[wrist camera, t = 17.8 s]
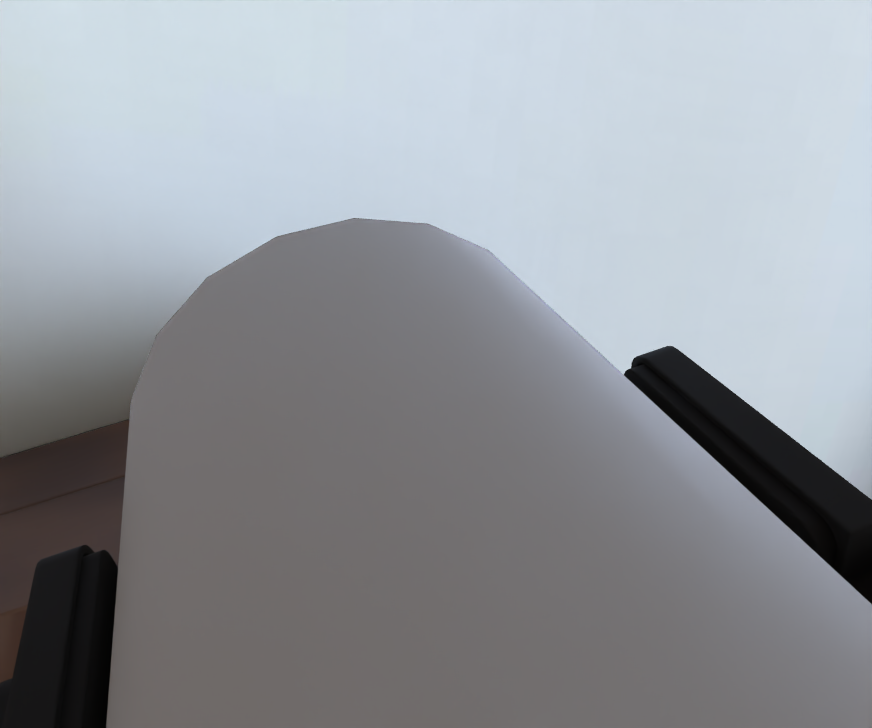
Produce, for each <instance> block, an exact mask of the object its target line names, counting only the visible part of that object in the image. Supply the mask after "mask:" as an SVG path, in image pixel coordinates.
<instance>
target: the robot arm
mask: <svg viewBox="0 0 872 728" xmlns="http://www.w3.org/2000/svg"><path fill="white" fill-rule="evenodd" d="M624 376H625V377H626V378H627V379H628V380H630V381H631V382H632V383H633V384H634V385H635V386H636V387H637V388H638V389H639V390H640V391H641V392H643V393H644V394H645V395H646V396H647V397H648V398H649V399H650V400H651V401H652V402H653V403H654V404H656V405H657V406H658V407H659V408H660V409H661V410H662V411H663V412H664V413H665V414H666V415H667V416H668V417H670V418H671V419H672V420H673V421H674V422H675V423H676V424H677V425H678V426H679V427H680V428H681V429H683V430H684V431H685V432H686V433H687V434H688V435H689V436H690V437H691V438H692V439H693V440H694V441H696V442H697V443H698V444H699V445H700V446H701V447H702V448H703V449H704V450H705V451H706V452H707V453H709V454H710V455H711V456H712V457H713V458H714V459H715V460H716V461H717V462H718V463H719V464H720V465H722V466H723V467H724V468H725V469H726V470H727V471H728V472H729V473H730V474H731V475H732V476H733V477H735V478H736V479H737V480H738V481H739V482H740V483H741V484H742V485H743V486H744V487H745V488H746V489H747V490H749V491H750V492H751V493H752V494H753V495H754V496H755V497H756V498H757V499H758V500H759V501H760V502H762V503H763V504H764V505H765V506H766V507H767V508H768V509H769V510H770V511H771V512H772V513H773V514H775V515H776V516H777V517H778V518H779V519H780V520H781V521H782V522H783V523H784V524H785V525H786V526H788V527H789V528H790V529H791V530H792V531H793V532H794V533H795V534H796V535H797V536H798V537H799V538H801V539H802V540H803V541H804V542H805V543H806V544H807V545H808V546H809V547H810V548H811V549H812V550H814V551H815V552H816V553H817V554H818V555H819V556H820V557H821V558H822V559H823V560H824V561H825V562H826V563H828V564H829V565H830V566H831V567H832V568H833V569H834V570H835V571H836V572H837V573H838V574H839V575H841V576H842V577H843V578H844V579H845V580H846V581H847V582H848V583H849V584H850V585H851V586H852V587H854V588H855V589H856V590H857V591H858V592H859V593H860V594H861V595H862V596H863V597H864V598H865V599H867V600H868V601H869V602H870V603H871V604H872V500H871V499H870V498H868V497H867V496H866V495H865V494H863V493H862V492H861V491H859V490H858V489H857V488H856V487H854V486H853V485H852V484H850V483H849V482H848V481H847V480H845V479H844V478H843V477H841V476H840V475H839V474H838V473H836V472H835V471H834V470H832V469H831V468H830V467H829V466H827V465H826V464H825V463H823V462H822V461H821V460H820V459H818V458H817V457H816V456H814V455H813V454H812V453H811V452H809V451H808V450H807V449H805V448H804V447H803V446H802V445H800V444H799V443H798V442H796V441H795V440H794V439H792V438H791V437H790V436H789V435H787V434H786V433H785V432H783V431H782V430H781V429H780V428H778V427H777V426H776V425H774V424H773V423H772V422H771V421H769V420H768V419H767V418H765V417H764V416H763V415H762V414H760V413H759V412H758V411H756V410H755V409H754V408H753V407H751V406H750V405H749V404H747V403H746V402H745V401H744V400H742V399H741V398H740V397H738V396H737V395H736V394H735V393H733V392H732V391H731V390H729V389H728V388H727V387H726V386H724V385H723V384H722V383H720V382H719V381H718V380H717V379H715V378H714V377H713V376H711V375H710V374H709V373H708V372H706V371H705V370H704V369H702V368H701V367H700V366H699V365H697V364H696V363H695V362H693V361H692V360H691V359H689V358H688V357H687V356H686V355H684V354H683V353H682V352H680V351H679V350H678V349H676V348H674V347H673V346H666V347H663V348H660V349H658V350H655V351H652V352H649V353H646V354H643V355H640V356H637V357H636V358H634V359H633V362H632V366H631V369H628V370H627V371H625V374H624ZM117 577H118V566H117V565H116V563H115V561H114V560H113V558H112V556H111V555H110V554H109V552H108V551H106V550H101V551H98V552H94V551H93V550H92V549H91V548H90V547H89V546H88V545H82V546H79V547H76V548H73V549H70V550H67V551H64V552H61V553H58V554H55V555H52V556H49V557H46V558H43V559H41V560H40V561H39V562H38V563H37V565H36V568H35V572H34V577H33V582H32V587H31V591H30V596H29V601H28V606H27V610H26V615H25V620H24V625H23V630H22V634H21V639H20V644H19V649H18V653H17V658H16V663H15V668H14V672H13V677H12V678H11V679H8V680H6V681H3V682H1V683H0V728H106V722H107V709H108V696H109V682H110V669H111V656H112V643H113V630H114V617H115V604H116V590H117Z"/></svg>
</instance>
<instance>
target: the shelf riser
mask: <svg viewBox="0 0 872 728" xmlns="http://www.w3.org/2000/svg"><path fill="white" fill-rule="evenodd" d="M129 420H130V419H129ZM129 420H126V421H122V422H119V423H116V424H112V425H109V426H106V427H102V428H99V429H96V430H92V431H89V432H86V433H83V434H79V435H76V436H73V437H69V438H66V439H63V440H59V441H56V442H53V443H50V444H46V445H43V446H40V447H36V448H33V449H30V450H26V451H23V452H20V453H16V454H13V455H10V456H7V457H3V458H0V683H1V682H3V681H6V680H8V679H11V678H12V677H13V672H14V668H15V663H16V658H17V653H18V649H19V644H20V639H21V634H22V630H23V625H24V620H25V615H26V610H27V606H28V601H29V596H30V591H31V587H32V582H33V577H34V572H35V568H36V565H37V563H38V562H39V561H40V560H41V559H43V558H46V557H49V556H52V555H55V554H58V553H61V552H64V551H67V550H70V549H73V548H76V547H79V546H82V545H88V546H89V547H90V548H91V549H92V550H93V551H94V552H98V551H101V550H106V551H108V552H109V554H110V555H111V556H112V558H113V560H114V561H115V563H116V565H117V566H118V564H119V551H120V538H121V525H122V512H123V498H124V485H125V472H126V459H127V446H128V433H129Z"/></svg>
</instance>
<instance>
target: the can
mask: <svg viewBox="0 0 872 728" xmlns="http://www.w3.org/2000/svg"><path fill="white" fill-rule="evenodd" d="M106 728H872V604H871V603H870V602H869V601H868V600H867V599H865V598H864V597H863V596H862V595H861V594H860V593H859V592H858V591H857V590H856V589H855V588H854V587H852V586H851V585H850V584H849V583H848V582H847V581H846V580H845V579H844V578H843V577H842V576H841V575H839V574H838V573H837V572H836V571H835V570H834V569H833V568H832V567H831V566H830V565H829V564H828V563H826V562H825V561H824V560H823V559H822V558H821V557H820V556H819V555H818V554H817V553H816V552H815V551H814V550H812V549H811V548H810V547H809V546H808V545H807V544H806V543H805V542H804V541H803V540H802V539H801V538H799V537H798V536H797V535H796V534H795V533H794V532H793V531H792V530H791V529H790V528H789V527H788V526H786V525H785V524H784V523H783V522H782V521H781V520H780V519H779V518H778V517H777V516H776V515H775V514H773V513H772V512H771V511H770V510H769V509H768V508H767V507H766V506H765V505H764V504H763V503H762V502H760V501H759V500H758V499H757V498H756V497H755V496H754V495H753V494H752V493H751V492H750V491H749V490H747V489H746V488H745V487H744V486H743V485H742V484H741V483H740V482H739V481H738V480H737V479H736V478H735V477H733V476H732V475H731V474H730V473H729V472H728V471H727V470H726V469H725V468H724V467H723V466H722V465H720V464H719V463H718V462H717V461H716V460H715V459H714V458H713V457H712V456H711V455H710V454H709V453H707V452H706V451H705V450H704V449H703V448H702V447H701V446H700V445H699V444H698V443H697V442H696V441H694V440H693V439H692V438H691V437H690V436H689V435H688V434H687V433H686V432H685V431H684V430H683V429H681V428H680V427H679V426H678V425H677V424H676V423H675V422H674V421H673V420H672V419H671V418H670V417H668V416H667V415H666V414H665V413H664V412H663V411H662V410H661V409H660V408H659V407H658V406H657V405H656V404H654V403H653V402H652V401H651V400H650V399H649V398H648V397H647V396H646V395H645V394H644V393H643V392H641V391H640V390H639V389H638V388H637V387H636V386H635V385H634V384H633V383H632V382H631V381H630V380H628V379H627V378H626V377H625V376H624V375H623V374H622V373H621V372H620V371H619V370H618V369H617V368H615V367H614V366H613V365H612V364H611V363H610V362H609V361H608V360H607V359H606V358H605V357H604V356H602V355H601V354H600V353H599V352H598V351H597V350H596V349H595V348H594V347H593V346H592V345H591V344H589V343H588V342H587V341H586V340H585V339H584V338H583V337H582V336H581V335H580V334H579V333H578V332H576V331H575V330H574V329H573V328H572V327H571V326H570V325H569V324H568V323H567V322H566V321H565V320H564V319H562V318H561V317H560V316H559V315H558V314H557V313H556V312H555V311H554V310H553V309H552V308H551V307H549V306H548V305H547V304H546V303H545V302H544V301H543V300H542V299H541V298H540V297H539V296H538V295H536V294H535V293H534V292H533V291H532V290H531V289H530V288H529V287H528V286H527V285H526V284H525V283H523V282H522V281H521V280H520V279H519V278H518V277H517V276H516V275H515V274H514V273H513V272H512V271H510V270H509V269H508V268H507V267H506V266H505V265H504V264H503V263H502V262H501V261H500V260H499V259H497V258H496V257H495V256H494V255H493V254H492V253H491V252H490V251H489V250H487V249H485V248H482V247H480V246H478V245H475V244H473V243H471V242H469V241H466V240H464V239H462V238H459V237H457V236H455V235H453V234H450V233H448V232H446V231H443V230H441V229H439V228H437V227H434V226H432V225H430V224H424V223H411V222H398V221H385V220H372V219H359V218H353V219H349V220H344V221H340V222H336V223H332V224H327V225H323V226H319V227H315V228H310V229H306V230H302V231H298V232H294V233H289V234H285V235H281V236H277V237H275V238H273V239H272V240H270V241H268V242H267V243H265V244H263V245H261V246H260V247H258V248H256V249H255V250H253V251H251V252H250V253H248V254H246V255H245V256H243V257H241V258H239V259H238V260H236V261H234V262H233V263H231V264H229V265H228V266H226V267H224V268H223V269H221V270H219V271H217V272H216V273H214V274H212V275H211V276H209V277H207V278H206V279H205V280H204V282H203V283H202V284H201V285H200V286H199V287H198V288H197V290H196V291H195V292H194V293H193V294H192V295H191V296H190V298H189V299H188V300H187V301H186V302H185V303H184V304H183V306H182V307H181V308H180V309H179V310H178V311H177V312H176V313H175V315H174V316H173V317H172V318H171V319H170V320H169V321H168V323H167V324H166V325H165V326H164V327H163V328H162V329H161V331H160V332H159V333H158V334H157V335H156V337H155V340H154V342H153V345H152V347H151V350H150V353H149V355H148V358H147V360H146V363H145V366H144V368H143V371H142V373H141V376H140V378H139V381H138V384H137V386H136V389H135V391H134V394H133V397H132V399H131V406H130V420H129V433H128V446H127V459H126V472H125V485H124V498H123V512H122V525H121V538H120V551H119V564H118V577H117V590H116V604H115V617H114V630H113V643H112V656H111V669H110V682H109V696H108V709H107V722H106Z"/></svg>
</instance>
